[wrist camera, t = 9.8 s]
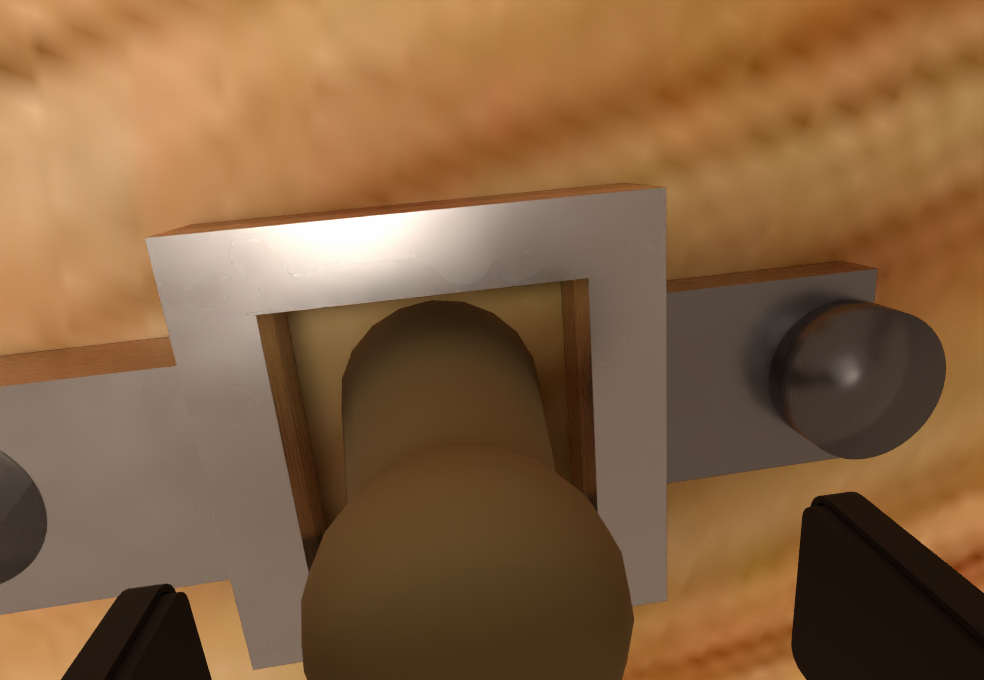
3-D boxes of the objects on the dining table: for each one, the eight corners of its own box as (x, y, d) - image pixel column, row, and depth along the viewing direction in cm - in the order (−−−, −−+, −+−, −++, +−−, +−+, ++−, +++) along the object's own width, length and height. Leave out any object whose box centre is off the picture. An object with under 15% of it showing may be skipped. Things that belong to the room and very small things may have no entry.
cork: (475, 513, 20) (545, 904, 9) (304, 434, 18) (164, 792, 8) (575, 360, 19) (780, 608, 8) (403, 261, 17) (391, 416, 7)
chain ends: (887, 157, 18) (976, 156, 15) (853, 506, 22) (919, 558, 19) (-143, 256, 16) (-268, 278, 13) (6, 638, 19) (-65, 722, 16)
